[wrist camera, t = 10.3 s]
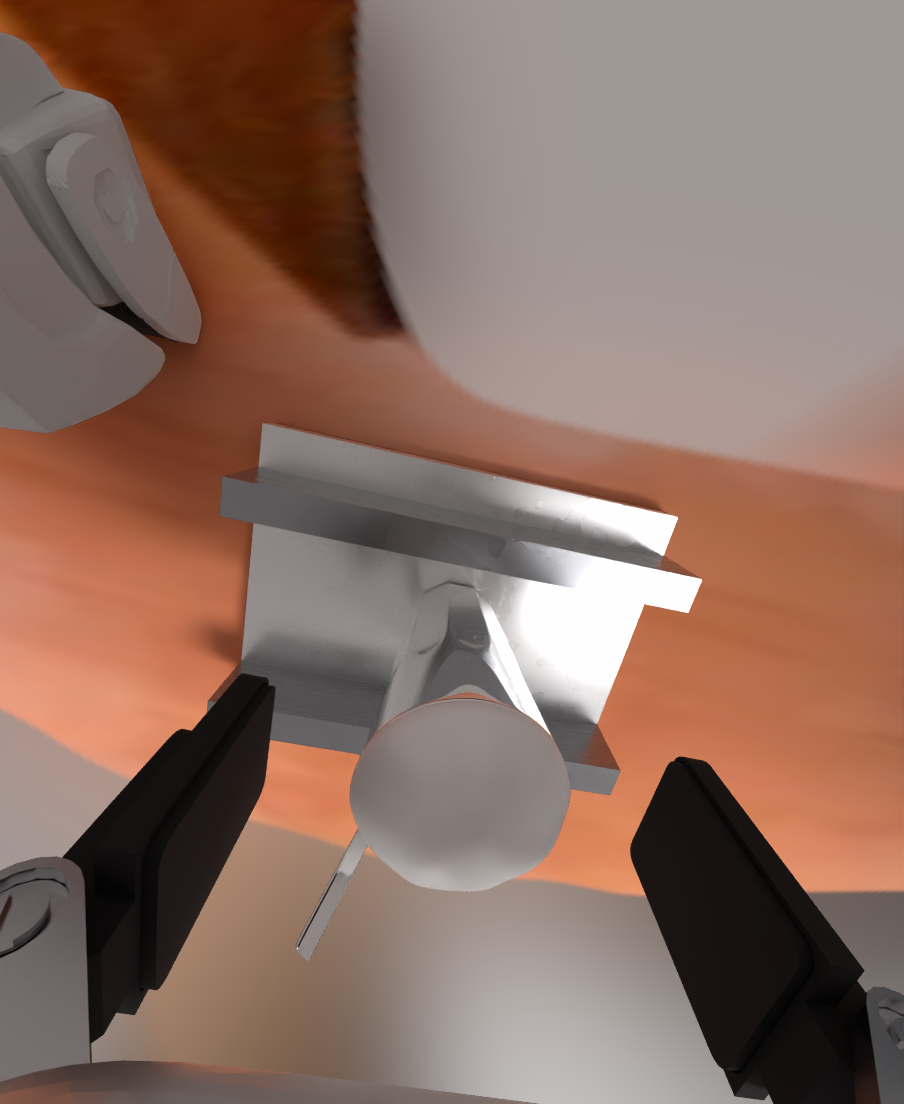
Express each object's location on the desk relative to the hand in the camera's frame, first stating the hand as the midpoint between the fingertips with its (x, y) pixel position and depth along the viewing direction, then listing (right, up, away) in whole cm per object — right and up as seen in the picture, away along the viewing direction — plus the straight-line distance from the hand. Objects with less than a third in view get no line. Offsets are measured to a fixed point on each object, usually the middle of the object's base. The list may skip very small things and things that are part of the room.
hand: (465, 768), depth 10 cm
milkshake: (-1, +2, +7) cm, 7 cm away
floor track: (-1, +2, +8) cm, 8 cm away
